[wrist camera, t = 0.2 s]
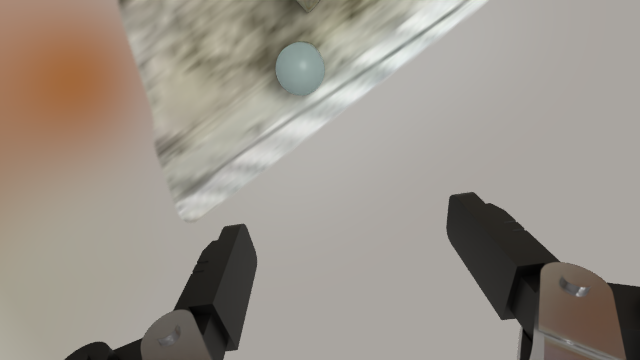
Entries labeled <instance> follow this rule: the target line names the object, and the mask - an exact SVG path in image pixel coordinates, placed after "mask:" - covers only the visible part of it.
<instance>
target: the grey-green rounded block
mask: <svg viewBox="0 0 640 360" xmlns="http://www.w3.org/2000/svg"><path fill="white" fill-rule="evenodd" d="M324 73H325V68H324V62H323V59H322V57H321V55H320V53H319V51H318V49H317V48H316V47H315V46H314V45H312V44H310V43H308V42H304V41H299V42H295V43H293V44H291V45H289V46H287V47H286V48H284V49H283V50H282V52H281V53H280V54H279V56H278V58H277V62H276V75H277V78H278V81H279V82H280V84H281V85H282V87H283V88H284V89H285V90H287V91H288V92H290V93H292V94H295V95H307V94H310V93H312V92H314V91H315V90H316V89H317V88H318V87H319V86H320V84H321V83H322V80H323V78H324Z"/></svg>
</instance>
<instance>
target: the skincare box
mask: <svg viewBox="0 0 640 360" xmlns="http://www.w3.org/2000/svg"><path fill="white" fill-rule="evenodd" d="M296 1H297V2H298V3H299V4H300V5H301V6H302V7H303V8H304V9H305V10H306V11H307V12H308V13H309V12H310V11H311V10H312V9H313V8H314V7H315V6H316V5H317V3H318V2H319V1H320V0H296Z"/></svg>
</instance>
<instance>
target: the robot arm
mask: <svg viewBox="0 0 640 360" xmlns="http://www.w3.org/2000/svg"><path fill="white" fill-rule="evenodd" d="M446 228H447V235H448V238H449V240H450V242H451V244H452V246H453V247H454V248H455V250H456V252H457V253H458V255H459V256H460V258H461V259H462V261H463V262H464V264H465V265H466V267H467V268H468V270H469V271H470V273H471V274H472V276H473V277H474V279H475V280H476V282H477V284H478V285H479V287H480V288H481V290H482V291H483V293H484V294H485V296H486V297H487V299H488V300H489V302H490V303H491V304H492V306H493V308H494V309H495V311H496V312H497V314H498V315H499V317H500V318H501V320H507V319H515V318H516V319H517V320H518V322H519V323H520V325H521V329H520V333H519V344H518V355H517V360H640V287H636V286H630V285H621V284H613V283H606V282H605V281H604V280H603V279H602V278H601V277H599V276H598V275H596V274H595V273H593V272H591V271H590V270H587V269H585V268H583V267H580V266H577V265H574V264H570V263H564V262H560V261H559V260H558V259H557V258H556V257H555V256H553V255H552V254H551V253H550V252H549V251H548V250H547V249H546V248H545V247H544V246H543V245H542V244H541V243H539V242H538V241H537V240H536V239H535V238H534V237H533V236H532V235H531V234H530V233H529V232H528V231H525V230H524V228H523V227H522V226H521V225H520V224H519V223H518V222H516V221H515V219H514V218H513V217H511V216H510V215H509V214H508V213H507V212H506V211H504V210H503V209H501V208H499V207H497V206H495V205H493V204H491V203H488V204H485V203H484V202H483V201H482V200H481V199H480V198H479V197H478V196H477V195H476V194H475V193H474V192H470V193H462V194H455V195H451V196H450V199H449V206H448V216H447V227H446ZM256 267H257V256H256V251H255V249H254V246H253V243H252V241H251V238H250V235H249V232H248V229H247V227H246V225H245V224H238V225H231V226H225V227H224V228H223V230H222V232H221V234H220V236H219V239H218V240H216V241H212V242H211V243H210V244H209V245H208V246H207V247H206V248H205V249H204V250H203V251H202V253H201V256H200V258H199V259H198V261H197V265H196V266H195V268H194V270H193V274H191V276H190V278H189V280H188V282H187V284H186V286H185V288H184V290H183V292H182V294H181V296H180V298H179V300H178V302H177V304H176V306H175V308H174V310H173V311H172V312H170V313H167V314H166V315H164V316H162V317H161V318H159V319H158V320H157V321H156V322H154V323H153V324H152V325H151V327H150V328H149V329H148V330H147V332H146V333H145V335H144V337H143V338H141V339H139V340H137V341H134V342H132V343H129V344H127V345H125V346H122V347H120V348H117V349H115V350H112V349H111V348H110V347H109V346H108V345H107V344H106V343H104V342H94V343H90V344H88V345H85V346H83V347H81V348H80V349H78V350H76V351H75V352H73V353H72V354H71V355H69V356H68V357H67V358H66V359H65V360H223V358H224V355H225V351H233V350H238V346H239V341H240V337H241V333H242V328H243V324H244V320H245V315H246V311H247V307H248V303H249V298H250V294H251V289H252V285H253V281H254V277H255V272H256Z"/></svg>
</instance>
